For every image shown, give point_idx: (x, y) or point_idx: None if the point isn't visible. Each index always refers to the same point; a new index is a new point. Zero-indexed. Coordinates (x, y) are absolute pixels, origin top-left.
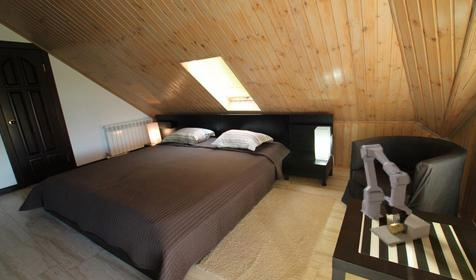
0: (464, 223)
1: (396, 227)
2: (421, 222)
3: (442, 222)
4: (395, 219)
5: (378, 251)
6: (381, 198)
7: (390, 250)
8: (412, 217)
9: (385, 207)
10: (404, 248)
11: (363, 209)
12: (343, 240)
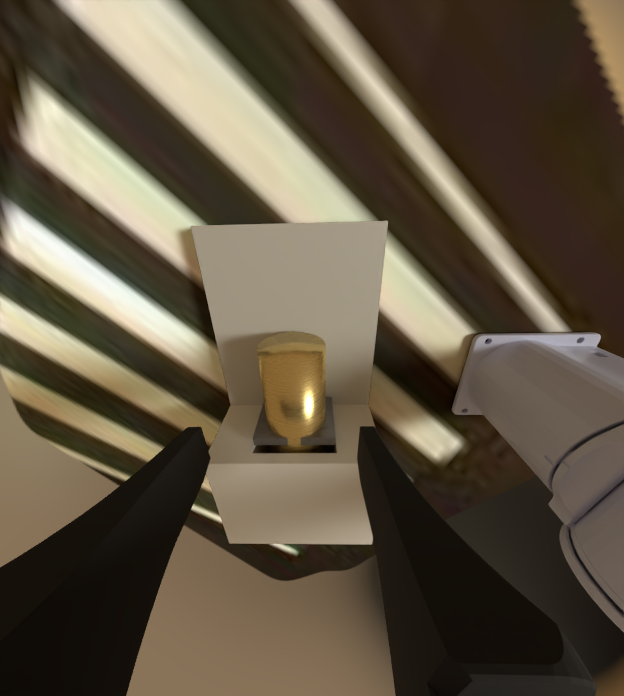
0: (290, 578)
1: (268, 383)
2: (255, 528)
3: (313, 548)
4: (355, 441)
5: (137, 76)
6: (616, 575)
7: (154, 203)
8: (313, 525)
9: (433, 518)
10: (174, 311)
11: (592, 353)
12: None
